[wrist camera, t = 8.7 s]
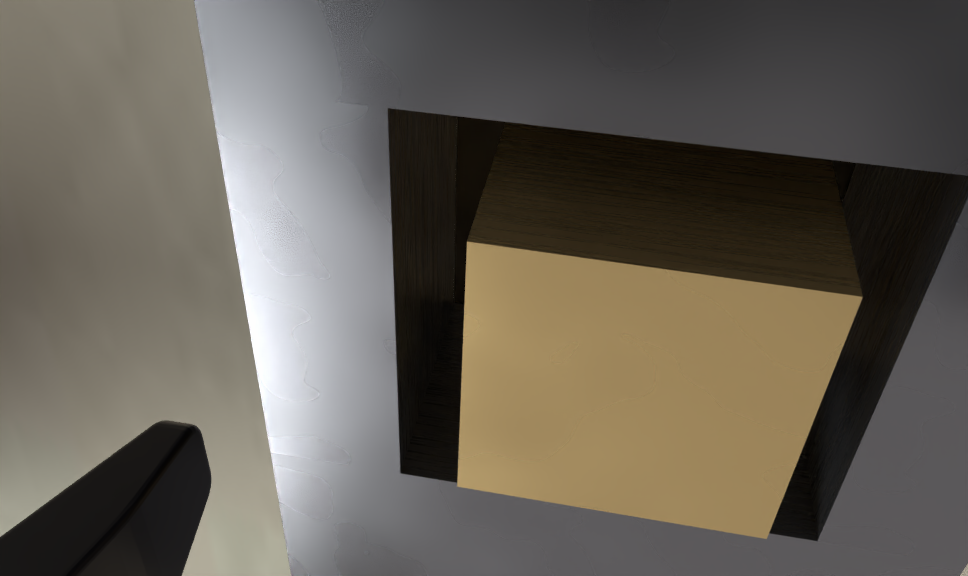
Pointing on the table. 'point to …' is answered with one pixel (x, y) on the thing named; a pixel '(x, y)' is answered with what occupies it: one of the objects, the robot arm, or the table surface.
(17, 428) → the table surface
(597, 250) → the tan wooden block
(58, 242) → the table surface
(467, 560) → the grey socket block
